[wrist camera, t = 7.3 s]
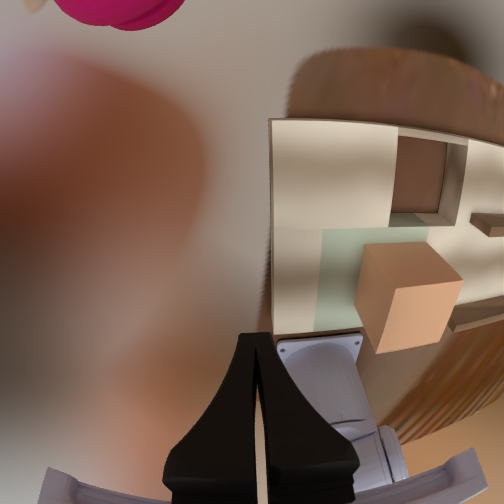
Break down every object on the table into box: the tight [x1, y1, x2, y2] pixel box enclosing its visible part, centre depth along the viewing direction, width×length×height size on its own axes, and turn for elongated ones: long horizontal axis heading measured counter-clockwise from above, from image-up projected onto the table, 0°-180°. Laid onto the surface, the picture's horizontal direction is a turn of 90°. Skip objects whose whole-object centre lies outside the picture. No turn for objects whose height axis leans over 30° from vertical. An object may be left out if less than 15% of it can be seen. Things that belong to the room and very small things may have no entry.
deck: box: [268, 118, 504, 335], centre depth 19 cm, size 15×26×2 cm, turn 92°
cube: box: [354, 241, 464, 354], centre depth 17 cm, size 5×5×5 cm
